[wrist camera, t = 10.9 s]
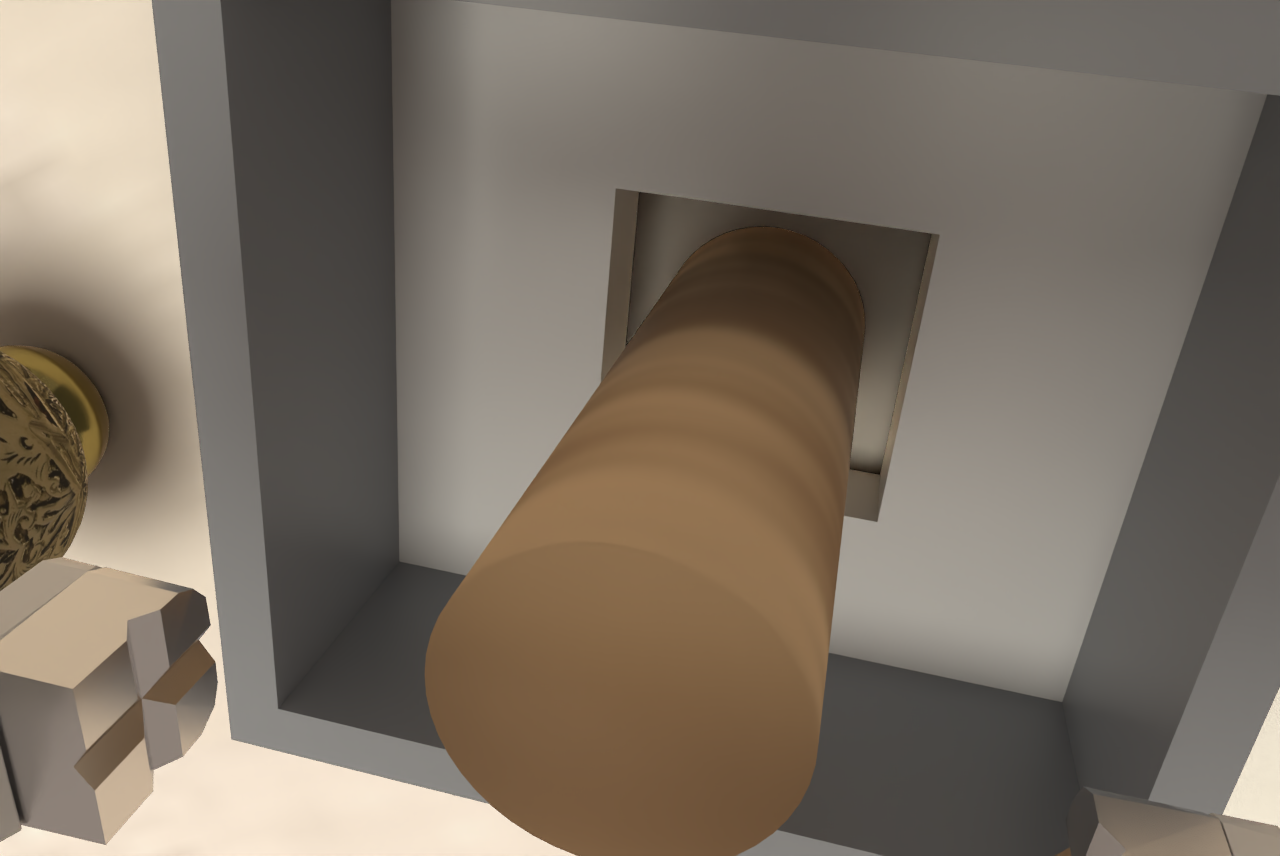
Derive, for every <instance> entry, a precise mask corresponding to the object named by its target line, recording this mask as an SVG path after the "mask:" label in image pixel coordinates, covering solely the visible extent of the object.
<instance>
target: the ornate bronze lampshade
mask: <svg viewBox="0 0 1280 856" xmlns="http://www.w3.org/2000/svg"><path fill="white" fill-rule="evenodd" d="M108 439H109V420H108V415H107V411H106V408H105V405H104V402H103V400H102V398H101V396H100V394H99V392H98V391H97V389H96V387H95V386H94V385H93V383H92V382H91V381H90V379H89V378H88V377H87V376H86V375H85V374H84V373H83V372H82V371H81V370H80V369H79V368H78V367H77V366H76V365H74V364H73V363H72V362H70V361H69V360H67V359H66V358H64V357H62V356H61V355H59V354H57V353H55V352H52V351H49V350H46V349H43V348H39V347H32V346H15V345H8V346H0V591H1V590H3V589H4V588H6V587H7V586H8V585H10V584H11V583H12V582H14V581H15V580H17V579H18V578H19V577H21V576H22V575H23V574H25V573H26V572H27V571H29V570H30V569H32V568H33V567H34V566H36V565H37V564H38V563H40V562H41V561H43V560H48V559H54V558H59V557H63V555H64V554H65V553H66V551H67V550H68V548H69V547H70V545H71V543H72V541H73V539H74V537H75V535H76V533H77V530H78V528H79V526H80V524H81V521H82V518H83V514H84V510H85V506H86V500H87V493H88V476H89V475H90V474H91V473H92V472H93V471H94V470H95V468H96V467H97V465H98V464H99V462H100V460H101V458H102V456H103V454H104V452H105V450H106V447H107V443H108Z"/></svg>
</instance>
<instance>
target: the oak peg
mask: <svg viewBox="0 0 1280 856" xmlns="http://www.w3.org/2000/svg"><path fill="white" fill-rule="evenodd" d="M864 333H865V316H864V309H863V304H862V300H861V297H860V294H859V291H858V289H857V287H856V284H855V282H854V280H853V278H852V277H851V275H850V274H849V272H848V271H847V269H846V268H845V267H844V265H843V264H842V263H841V262H840V261H839V260H838V258H837V257H835V256H834V255H833V254H832V253H831V252H830V251H829V250H828V249H826V248H825V247H823V246H822V245H820V244H819V243H818V242H816V241H814V240H812V239H810V238H808V237H806V236H804V235H802V234H799V233H796V232H793V231H790V230H785V229H781V228H774V227H749V228H744V229H738V230H735V231H731V232H728V233H725V234H723V235H721V236H719V237H717V238H714V239H712V240H711V241H709V242H708V243H706V244H705V245H703V246H702V247H700V248H699V249H698V250H697V251H696V252H695V253H693V254H692V255H691V256H690V258H689V259H688V260H687V261H686V262H685V263H684V264H683V266H682V267H681V269H680V270H679V272H678V273H677V274H676V276H675V277H674V279H673V280H672V282H671V283H670V284H669V286H668V287H667V289H666V290H665V292H664V293H663V294H662V296H661V297H660V299H659V300H658V302H657V303H656V305H655V306H654V307H653V309H652V310H651V312H650V313H649V315H648V316H647V317H646V319H645V320H644V322H643V323H642V325H641V326H640V327H639V329H638V330H637V332H636V333H635V335H634V336H633V337H632V339H631V340H630V342H629V343H628V345H627V346H626V348H625V349H624V350H623V352H622V353H621V355H620V356H619V358H618V359H617V360H616V362H615V363H614V365H613V366H612V368H611V369H610V370H609V372H608V373H607V375H606V376H605V378H604V379H603V380H602V382H601V383H600V385H599V386H598V388H597V389H596V390H595V392H594V393H593V395H592V396H591V398H590V399H589V401H588V402H587V403H586V405H585V406H584V408H583V409H582V411H581V412H580V413H579V415H578V416H577V418H576V419H575V421H574V422H573V423H572V425H571V426H570V428H569V429H568V431H567V432H566V433H565V435H564V436H563V438H562V439H561V441H560V442H559V443H558V445H557V446H556V448H555V449H554V451H553V452H552V454H551V455H550V456H549V458H548V459H547V461H546V462H545V464H544V465H543V466H542V468H541V469H540V471H539V472H538V474H537V475H536V476H535V478H534V479H533V481H532V482H531V484H530V485H529V486H528V488H527V489H526V491H525V492H524V494H523V495H522V496H521V498H520V499H519V501H518V502H517V504H516V505H515V507H514V508H513V509H512V511H511V512H510V514H509V515H508V517H507V518H506V519H505V521H504V522H503V524H502V525H501V527H500V528H499V529H498V531H497V532H496V534H495V535H494V537H493V538H492V539H491V541H490V542H489V544H488V545H487V547H486V548H485V550H484V551H483V552H482V554H481V555H480V557H479V558H478V560H477V561H476V562H475V564H474V565H473V567H472V568H471V570H470V571H469V572H468V574H467V575H466V577H465V578H464V580H463V581H462V582H461V584H460V585H459V587H458V588H457V590H456V591H455V592H454V594H453V595H452V597H451V598H450V600H449V601H448V603H447V604H446V606H445V607H444V609H443V610H442V612H441V613H440V615H439V617H438V619H437V621H436V624H435V626H434V628H433V631H432V633H431V636H430V640H429V644H428V648H427V652H426V662H425V687H426V696H427V701H428V705H429V709H430V714H431V717H432V720H433V722H434V725H435V728H436V730H437V733H438V736H439V738H440V739H441V741H442V743H443V745H444V747H445V749H446V751H447V753H448V755H449V756H450V758H451V759H452V761H453V762H454V764H455V765H456V766H457V768H458V769H459V771H460V772H461V774H462V775H463V776H464V777H465V778H466V780H467V781H468V782H469V783H470V784H471V785H472V787H473V788H474V789H475V790H476V791H477V792H478V793H479V794H480V795H481V796H482V797H483V798H484V799H485V800H486V801H487V802H488V803H489V804H490V805H491V806H492V807H494V808H495V809H496V810H497V811H499V812H500V813H501V814H503V815H504V816H505V817H506V818H508V819H509V820H510V821H511V822H513V823H515V824H516V825H518V826H519V827H521V828H522V829H524V830H525V831H527V832H529V833H530V834H532V835H533V836H535V837H537V838H539V839H541V840H543V841H545V842H547V843H549V844H551V845H553V846H555V847H557V848H560V849H562V850H565V851H567V852H570V853H572V854H574V855H577V856H736V855H738V854H740V853H742V852H744V851H746V850H748V849H750V848H752V847H754V846H756V845H757V844H759V843H760V842H762V841H763V840H765V839H766V838H767V837H769V836H770V835H772V834H773V833H774V832H775V831H776V830H777V829H778V828H779V827H780V826H781V825H782V824H784V823H785V822H786V821H787V820H788V819H789V817H790V816H791V815H792V813H793V812H794V811H795V809H796V808H797V807H798V805H799V804H800V802H801V800H802V798H803V797H804V795H805V793H806V791H807V789H808V787H809V785H810V782H811V778H812V775H813V772H814V769H815V765H816V759H817V751H818V743H819V734H820V725H821V716H822V707H823V698H824V689H825V681H826V672H827V663H828V654H829V645H830V636H831V627H832V618H833V609H834V600H835V591H836V582H837V574H838V565H839V556H840V547H841V538H842V529H843V520H844V511H845V502H846V493H847V484H848V475H849V467H850V458H851V449H852V440H853V431H854V422H855V413H856V404H857V395H858V386H859V377H860V369H861V360H862V351H863V342H864Z"/></svg>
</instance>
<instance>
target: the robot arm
mask: <svg viewBox="0 0 1280 856" xmlns="http://www.w3.org/2000/svg"><path fill="white" fill-rule="evenodd" d="M209 626H210V619H209V614H208V608H207V603H206V597H204V596H203V595H201V594H200V593H198V592H197V591H195V590H194V589H191V588H187V587H183V586H179V585H175V584H171V583H167V582H163V581H159V580H155V579H151V578H147V577H143V576H139V575H135V574H131V573H127V572H123V571H119V570H115V569H111V568H107V567H104V568H101V567H98V566H94V565H90V564H86V563H82V562H78V561H74V560H71V559H67V558H63V557H59V558H54V559H48V560H43V561H41V562H40V563H38V564H37V565H36V566H34V567H33V568H32V569H30V570H29V571H27V572H26V573H25V574H23V575H22V576H21V577H19V578H18V579H17V580H15V581H14V582H12V583H11V584H10V585H8V586H7V587H6V588H4V589H3V590H1V591H0V842H1V841H3V840H4V839H6V838H8V837H10V836H12V835H13V834H15V833H17V832H19V831H20V830H21V829H22V828H21V825H24V826H29V827H33V828H37V829H41V830H46V831H50V832H54V833H58V834H62V835H67V836H71V837H75V838H79V839H83V840H88V841H92V842H96V843H100V844H104V845H106V844H107V843H108V842H109V841H110V840H111V838H112V837H113V836H114V835H115V834H116V833H117V832H118V830H119V829H120V828H121V827H122V826H123V825H124V824H125V822H126V821H127V820H128V819H129V818H130V817H131V816H132V815H133V813H134V812H135V811H136V810H137V809H138V808H139V807H140V805H141V804H142V803H143V802H144V801H145V800H146V799H147V797H148V796H149V795H150V794H151V793H152V792H153V770H155V769H157V768H159V767H161V766H163V765H166V764H168V763H170V762H172V761H174V760H177V759H179V758H181V757H183V756H184V755H185V754H186V752H187V751H188V750H189V749H190V748H191V746H192V745H193V744H194V743H195V742H196V740H197V739H198V738H199V737H200V736H201V734H202V732H203V730H204V728H205V726H206V723H207V721H208V719H209V717H210V714H211V712H212V710H213V708H214V705H215V698H216V691H217V683H218V681H217V672H216V663H215V661H214V660H213V658H212V657H211V656H210V654H209V653H208V652H207V650H206V649H205V648H204V646H203V645H202V644H201V642H200V641H199V639H200V638H201V636H202V635H203V634H204V633H205V631H206V630H207V629H208V628H209ZM1065 820H1066V826H1067V833H1068V839H1069V845H1070V847H1069V848H1067V849H1066V850H1064V851H1062V852H1060V853H1059V854H1057V855H1055V856H1280V828H1279V827H1278V826H1274V825H1269V824H1264V823H1259V822H1255V821H1250V820H1245V819H1240V818H1235V817H1230V816H1225V815H1220V814H1215V813H1210V814H1206V813H1204V812H1200V811H1196V810H1191V809H1186V808H1182V807H1177V806H1172V805H1168V804H1163V803H1158V802H1154V801H1149V800H1144V799H1140V798H1135V797H1130V796H1126V795H1121V794H1116V793H1112V792H1107V791H1103V790H1098V789H1093V788H1089V787H1084V786H1083V787H1082V788H1081V789H1080V791H1079V792H1078V793H1077V794H1076V796H1075V797H1074V799H1073V801H1072V804H1071V806H1070V809H1069V812H1068V814H1067V817H1066V819H1065Z"/></svg>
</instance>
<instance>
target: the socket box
mask: <svg viewBox="0 0 1280 856" xmlns="http://www.w3.org/2000/svg"><path fill="white" fill-rule="evenodd" d="M152 7H153V16H154V26H155V35H156V44H157V53H158V63H159V72H160V81H161V90H162V100H163V109H164V118H165V127H166V137H167V146H168V155H169V165H170V174H171V183H172V192H173V202H174V211H175V220H176V229H177V239H178V248H179V257H180V266H181V276H182V285H183V294H184V303H185V313H186V322H187V331H188V341H189V350H190V359H191V368H192V378H193V387H194V396H195V405H196V415H197V424H198V433H199V442H200V452H201V461H202V470H203V480H204V489H205V498H206V507H207V517H208V526H209V535H210V544H211V554H212V563H213V572H214V581H215V591H216V600H217V609H218V619H219V628H220V637H221V646H222V656H223V665H224V674H225V683H226V693H227V702H228V711H229V720H230V730H231V739H232V740H236V741H240V742H244V743H248V744H252V745H256V746H260V747H264V748H268V749H272V750H276V751H280V752H284V753H288V754H292V755H296V756H300V757H304V758H308V759H312V760H316V761H320V762H324V763H328V764H332V765H336V766H340V767H344V768H348V769H352V770H356V771H360V772H364V773H368V774H372V775H376V776H380V777H384V778H388V779H392V780H396V781H400V782H404V783H408V784H412V785H416V786H420V787H424V788H428V789H432V790H436V791H440V792H444V793H448V794H452V795H456V796H460V797H464V798H468V799H472V800H476V801H480V802H484V803H488V802H487V801H486V800H485V799H484V798H483V797H482V796H481V795H480V794H479V793H478V792H477V791H476V790H475V789H474V788H473V787H472V785H471V784H470V783H469V782H468V781H467V780H466V778H465V777H464V776H463V775H462V774H461V772H460V771H459V769H458V768H457V766H456V765H455V764H454V762H453V761H452V759H451V758H450V756H449V755H448V753H447V751H446V749H445V747H444V745H443V743H442V741H441V739H440V738H439V736H438V733H437V730H436V728H435V725H434V722H433V720H432V717H431V714H430V709H429V705H428V701H427V696H426V687H425V662H426V652H427V648H428V644H429V640H430V636H431V633H432V631H433V628H434V626H435V624H436V621H437V619H438V617H439V615H440V613H441V612H442V610H443V609H444V607H445V606H446V604H447V603H448V601H449V600H450V598H451V597H452V595H453V594H454V592H455V591H456V590H457V588H458V587H459V585H460V584H461V582H462V581H463V580H464V578H465V577H466V575H467V574H468V572H469V571H470V570H471V568H472V567H473V565H474V564H475V562H476V561H477V560H478V558H479V557H480V555H481V554H482V552H483V551H484V550H485V548H486V547H487V545H488V544H489V542H490V541H491V539H492V538H493V537H494V535H495V534H496V532H497V531H498V529H499V528H500V527H501V525H502V524H503V522H504V521H505V519H506V518H507V517H508V515H509V514H510V512H511V511H512V509H513V508H514V507H515V505H516V504H517V502H518V501H519V499H520V498H521V496H522V495H523V494H524V492H525V491H526V489H527V488H528V486H529V485H530V484H531V482H532V481H533V479H534V478H535V476H536V475H537V474H538V472H539V471H540V469H541V468H542V466H543V465H544V464H545V462H546V461H547V459H548V458H549V456H550V455H551V454H552V452H553V451H554V449H555V448H556V446H557V445H558V443H559V442H560V441H561V439H562V438H563V436H564V435H565V433H566V432H567V431H568V429H569V428H570V426H571V425H572V423H573V422H574V421H575V419H576V418H577V416H578V415H579V413H580V412H581V411H582V409H583V408H584V406H585V405H586V403H587V402H588V401H589V399H590V398H591V396H592V395H593V393H594V392H595V390H596V389H597V388H598V386H599V385H600V383H601V382H602V380H603V379H604V378H605V376H606V375H607V373H608V372H609V370H610V369H611V368H612V366H613V365H614V363H615V362H616V360H617V359H618V358H619V356H620V355H621V353H622V352H623V350H624V349H625V348H626V336H627V325H628V314H629V302H630V291H631V279H632V268H633V257H634V245H635V234H636V223H637V211H638V200H639V192H645V193H652V194H659V195H666V196H673V197H680V198H687V199H694V200H701V201H708V202H715V203H722V204H729V205H736V206H743V207H750V208H757V209H764V210H771V211H778V212H785V213H792V214H799V215H806V216H813V217H820V218H827V219H834V220H841V221H848V222H855V223H862V224H869V225H876V226H883V227H890V228H897V229H904V230H911V231H918V232H925V233H932V235H931V239H930V244H929V249H928V253H927V258H926V263H925V267H924V272H923V277H922V281H921V286H920V291H919V295H918V300H917V305H916V309H915V314H914V319H913V323H912V328H911V333H910V337H909V342H908V347H907V351H906V356H905V361H904V365H903V370H902V375H901V379H900V384H899V389H898V393H897V398H896V403H895V407H894V412H893V417H892V421H891V426H890V431H889V435H888V440H887V445H886V449H885V454H884V459H883V463H882V468H881V473H880V475H878V474H873V473H867V472H862V471H856V470H851V469H849V475H848V484H847V493H846V502H845V511H844V520H843V529H842V538H841V547H840V556H839V565H838V574H837V582H836V591H835V600H834V609H833V618H832V627H831V636H830V645H829V654H828V663H827V672H826V681H825V689H824V698H823V707H822V716H821V725H820V734H819V743H818V751H817V759H816V765H815V769H814V772H813V775H812V778H811V782H810V785H809V787H808V789H807V791H806V793H805V795H804V797H803V798H802V800H801V802H800V804H799V805H798V807H797V808H796V809H795V811H794V812H793V813H792V815H791V816H790V817H789V819H788V820H787V821H786V822H785V823H784V824H782V825H781V826H780V827H779V828H778V829H777V830H776V831H775V832H774V833H773V834H772V835H770V836H769V837H767V838H766V839H765V840H763V841H762V842H760V843H759V844H757V845H756V846H754V847H752V848H750V849H748V850H746V851H744V852H742V853H740V854H738V855H736V856H1055V855H1057V854H1059V853H1060V852H1062V851H1064V850H1066V849H1067V848H1069V847H1070V845H1069V839H1068V833H1067V826H1066V820H1065V819H1066V817H1067V814H1068V812H1069V809H1070V806H1071V804H1072V801H1073V799H1074V797H1075V796H1076V794H1077V793H1078V792H1079V791H1080V789H1081V788H1082V787H1083V786H1084V787H1089V788H1093V789H1098V790H1103V791H1107V792H1112V793H1116V794H1121V795H1126V796H1130V797H1135V798H1140V799H1144V800H1149V801H1154V802H1158V803H1163V804H1168V805H1172V806H1177V807H1182V808H1186V809H1191V810H1196V811H1200V812H1204V813H1206V814H1210V813H1215V814H1220V815H1222V814H1223V812H1224V809H1225V807H1226V805H1227V803H1228V801H1229V798H1230V796H1231V794H1232V792H1233V789H1234V787H1235V785H1236V783H1237V781H1238V778H1239V776H1240V774H1241V772H1242V769H1243V767H1244V765H1245V763H1246V761H1247V758H1248V756H1249V754H1250V752H1251V749H1252V747H1253V745H1254V743H1255V741H1256V738H1257V736H1258V734H1259V732H1260V729H1261V727H1262V725H1263V723H1264V721H1265V718H1266V716H1267V714H1268V712H1269V710H1270V707H1271V705H1272V703H1273V701H1274V698H1275V696H1276V694H1277V692H1278V690H1279V687H1280V0H152ZM488 804H489V803H488Z"/></svg>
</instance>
